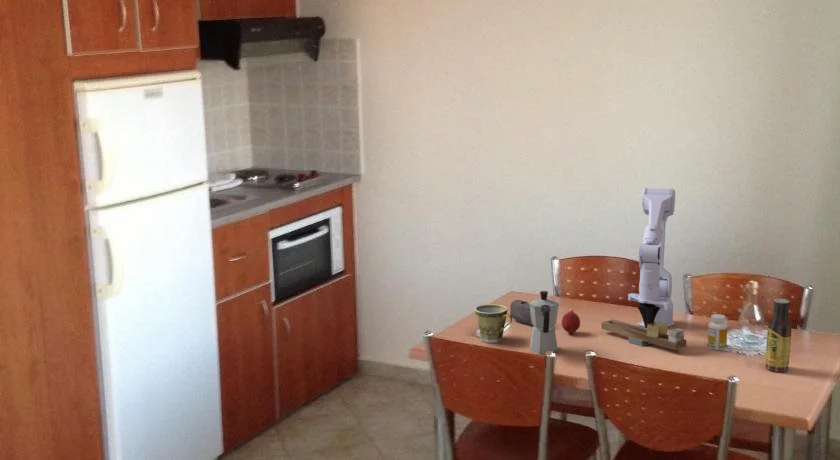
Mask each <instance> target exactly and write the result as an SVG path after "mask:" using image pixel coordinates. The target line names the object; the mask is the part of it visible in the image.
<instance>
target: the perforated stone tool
mask: <svg viewBox="0 0 840 460" xmlns="http://www.w3.org/2000/svg"><path fill="white" fill-rule="evenodd" d="M529 303H530V302H528V301H525V300H521V299H515V300H513V301H512V302H511V303H510V308H509V315H511V317H512V320H515V321H517V322H519V323H520V324H525V325H528V326H532V327H534V325H533V324H532V322H531V314H530V307H529Z"/></svg>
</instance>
